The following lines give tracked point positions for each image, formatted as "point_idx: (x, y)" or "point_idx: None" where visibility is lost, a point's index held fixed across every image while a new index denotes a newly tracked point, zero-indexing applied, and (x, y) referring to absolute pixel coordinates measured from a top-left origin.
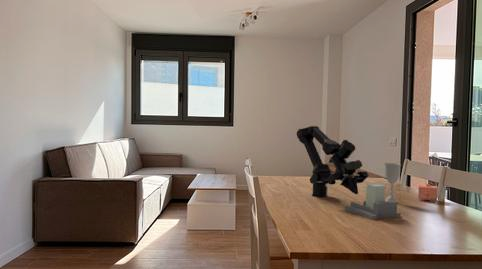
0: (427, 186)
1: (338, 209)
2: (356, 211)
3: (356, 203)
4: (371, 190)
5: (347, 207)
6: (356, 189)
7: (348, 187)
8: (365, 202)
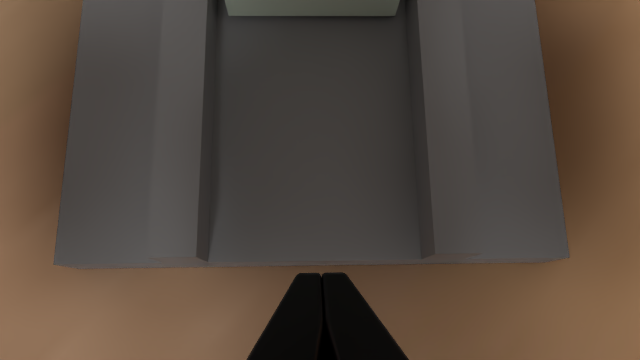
0: None
1: (623, 305)
2: (531, 37)
3: (444, 146)
4: None
5: (559, 201)
6: (313, 326)
7: None
8: (201, 211)
